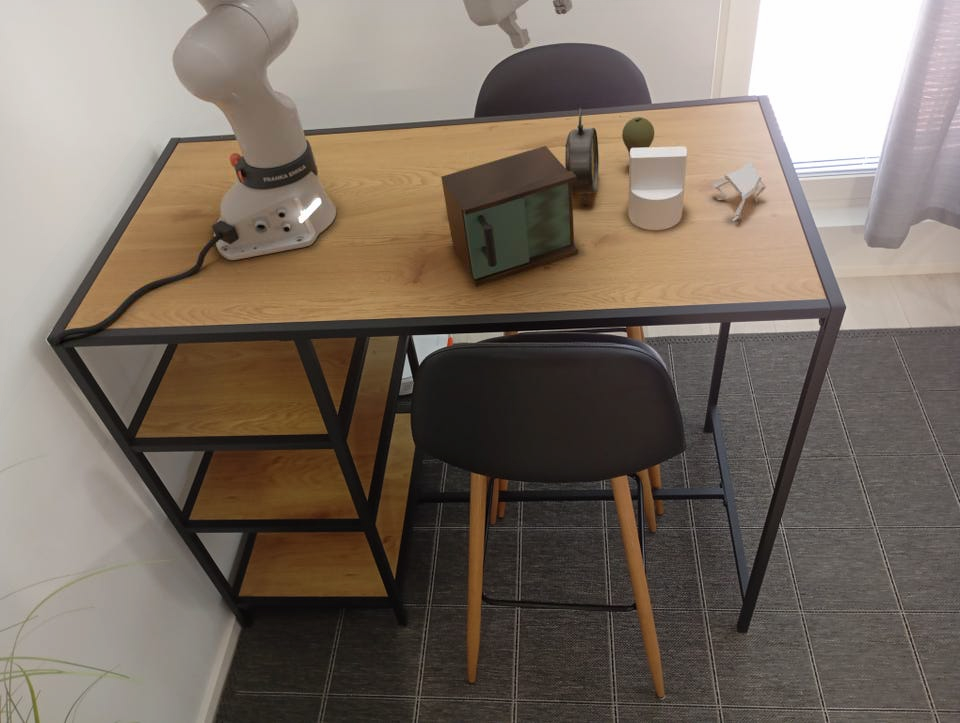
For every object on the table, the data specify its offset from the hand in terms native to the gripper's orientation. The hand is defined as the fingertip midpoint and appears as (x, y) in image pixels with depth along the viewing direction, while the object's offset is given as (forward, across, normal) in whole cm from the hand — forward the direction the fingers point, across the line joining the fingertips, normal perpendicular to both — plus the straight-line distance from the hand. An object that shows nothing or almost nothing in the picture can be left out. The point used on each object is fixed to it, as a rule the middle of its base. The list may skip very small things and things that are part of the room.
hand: (544, 28), depth 100 cm
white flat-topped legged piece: (+44, -27, +6) cm, 52 cm away
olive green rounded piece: (+39, -29, -14) cm, 50 cm away
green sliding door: (+35, +9, -14) cm, 39 cm away
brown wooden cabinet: (+36, +1, -19) cm, 40 cm away
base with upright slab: (+41, -18, -4) cm, 45 cm away
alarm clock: (+37, -18, -18) cm, 45 cm away
